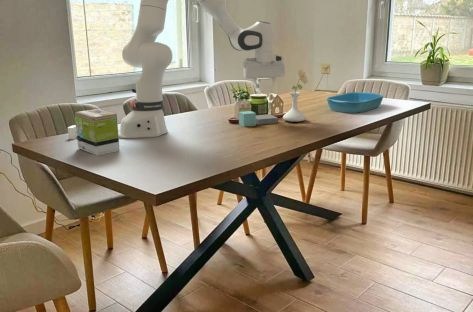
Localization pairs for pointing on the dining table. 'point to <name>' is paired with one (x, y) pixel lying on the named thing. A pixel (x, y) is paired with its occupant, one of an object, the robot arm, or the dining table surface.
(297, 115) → the flower in vase
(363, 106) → the casserole dish
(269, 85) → the cream block
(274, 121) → the plate
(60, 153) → the dining table surface
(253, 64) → the robot arm
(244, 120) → the teal block
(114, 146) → the tea box
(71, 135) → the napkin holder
